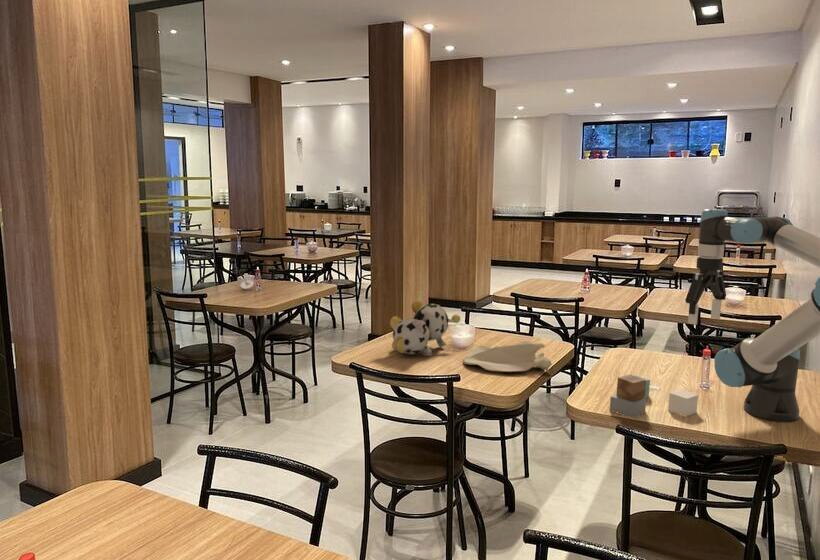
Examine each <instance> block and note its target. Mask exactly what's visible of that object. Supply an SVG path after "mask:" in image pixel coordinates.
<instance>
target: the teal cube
mask: <svg viewBox="0 0 820 560" xmlns="http://www.w3.org/2000/svg"><path fill="white" fill-rule="evenodd" d="M633 376H636V377H639V378H642V379H645V380H646V390H645V397H646V398H648V397H650V389H649V387H650V386H651V384H650V382H651V379H649V378H646V377H642V376H639V375H636V374H633Z"/></svg>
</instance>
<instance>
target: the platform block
mask: <svg viewBox="0 0 820 560" xmlns="http://www.w3.org/2000/svg"><path fill="white" fill-rule="evenodd" d="M616 395H617V392H616V393H614V394H612V395H611V396H610V399H609V400H610V401H609V402H610V403H609V411H610V410H611V411H610V412H612V411H614V412H613V413H615V412H618V413H621V414H620V415H622V414H624V415H623V416H625V415H626V416H625V417H629V416H630V417H629V418H633V419H635V418H637V417H639V416H640V415H641V414H643V413H644V411H645V412H646V403H647V397H645V398H644V399H640V400H636V401H633V402H632V401H629V400H627V399H624V398H621V397H619V396H616ZM618 413H617V414H618ZM639 414H640V415H639Z"/></svg>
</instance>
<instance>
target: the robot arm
mask: <svg viewBox="0 0 820 560" xmlns="http://www.w3.org/2000/svg"><path fill="white" fill-rule="evenodd" d="M698 235H699V236H698V237H699V238H698V245H697V256H698V257H696V266H695V267H696V269H698V270H699V273H697V272H693V275H692V281H691V283H690V286H689V289H688V292H687V295H686V297H685V299H684V301H685V303H686V304H689V305H688V314H687V315H688V318H687V323H688V324H690V325H694V326H696V325H698V317H699V306H700V304H698V303H699V301H700V299H701V297H702V296H703V293H704V291H705V290H706V289H707V288H708V287H709V289H710V292H711V293H712V297H713V298H712V299H711V311H710V319H715V320H720V319H721V308H722V300H723V301H725V300H726V296H727V293H726V292H727V291H726V286H725V280H724V271H723V270H722V269H723V263H724V259H723V257H724V253H725V252H724V251H725V243H726V242H725V241H727V242H733V243H739V244H754V243H757V242H766V243H769V244H771V245H773V246H775V247H777V248H779V249H781V250H784V251H785V252H787V253H789V254H791V255H794V256H795V257H797V258H799V259H801V260H803V261H805V262H807V263H809V264H811V265H813V266H814V267H817V268H819V269H820V237H818V236H817V235H815V234H813V233H810V232H808V231H806V230H803V229H801V228H799V227H797V226H794V224H793V223H792V222H791V220H790V219H789V218H788V217H783V216H781V217H780V216H767V217H766V216H764V217H763V216H762V217H758V216H756V217H754V216H753V217H736V216H729V215H728V210H726V209H722V208H721V209H719V208H706V209H703V210H702V211H701V215H700V221H699V234H698ZM814 285H815V287H814V288H813V289H812V290H811V292H810V299H809V300H807V301H805V302H804V303H803V304H801V305H800V306H799V307H797V308H796V309H794V310H793V311H791V312H790V313H789V314H787V315H786V316H785V317H783V318H782V319H780V320H779V321H777V322H776V323H775V324H774V325H772V326H771V327H770V328H768V329H767V330H765V331H764V332H762V333H761V334H760V335H758V336H757V337H748V338H745V339H743V340H742V341H739V343H738V344H736V345H734V346H733V347H730V348H729V347H727V348H724V349H723V348H722V349H721V350H718V352H717V353H716V354H715V356H714V359H713V360H714V371H715V373H716V376H717V377H718V379H719V381H721V383H722V384H724V385H725V386H727V387H730V388H742V387H747V386H748V387H749V386H751V387H750V389H749V391H748V393H747V395H746V397H745V398H744V401H743V402H744V403H743V410H744V411H745V412H746V413H748V414H750V415H752V416H755V417H757V418H760V419H764V420H768V421H774V422H795V421H797V420H798V419H800V407H799V404H798V399H797V396H796V395H797V394H796V387H797V380H798V374H799V366H800V361H801V358H800V356H801V354H800V353H801V350H800V348H802V347H803V346H804V345H806V344H807V343H810V342H811V341H812V340H814V339H815V338H817V337H818V336H820V276H819V277H818V278H817V280H816V281H815V282H814Z"/></svg>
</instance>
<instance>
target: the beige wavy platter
mask: <svg viewBox="0 0 820 560" xmlns="http://www.w3.org/2000/svg"><path fill="white" fill-rule="evenodd" d="M545 347H546V345H545V344H544V343H542V342H537V343H536V342H535V343H532V341H531V340H526V341H522V342H521V341H520V342H519V343H516V344H511V345H504V346H503V345H502V346H495V347H489V346H485V345H484V346H483V345H480V346H477V347H474V348H473V349H471V350H470V351H469V352H468V353H467V355H466V356H464V357H463V360H462V361H463V363H462V364H464V365H469V366H470V365H471V366H472V365H473V366H476V365H477V366H480V367H481V368H482V369H483V370H487V371H491V372H501V373H502V372H505V373H506V372H507V373H512V372H526V371H530V369H532V368H539V369H541V370H542V371H546V372H549V371H550V369H549V368H550V367H551V366H552V365H553V363H552V361H551V359H550V358H548V357H546V356H545V351H544V352H541V353H539V354H537V355H536V353H537V352H538V351H539V350H541V349H544V348H545Z"/></svg>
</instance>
